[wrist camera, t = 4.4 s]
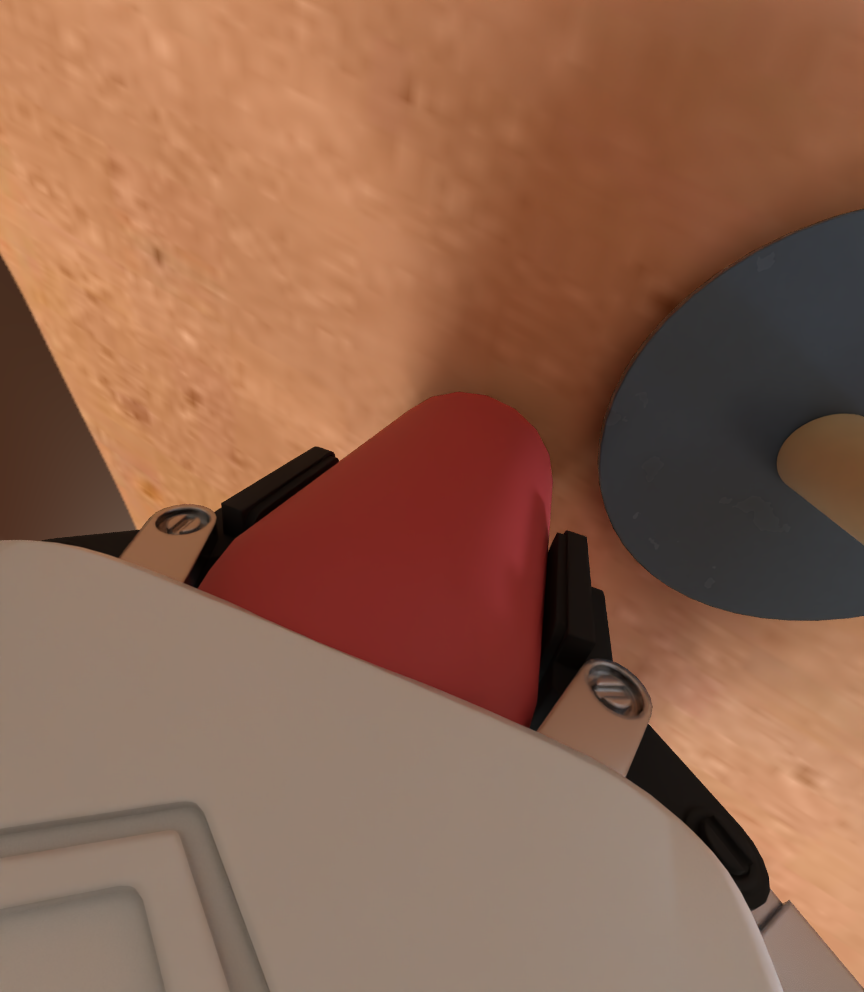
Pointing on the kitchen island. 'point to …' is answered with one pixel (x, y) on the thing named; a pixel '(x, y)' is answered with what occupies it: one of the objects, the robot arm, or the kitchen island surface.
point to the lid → (751, 434)
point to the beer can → (416, 553)
